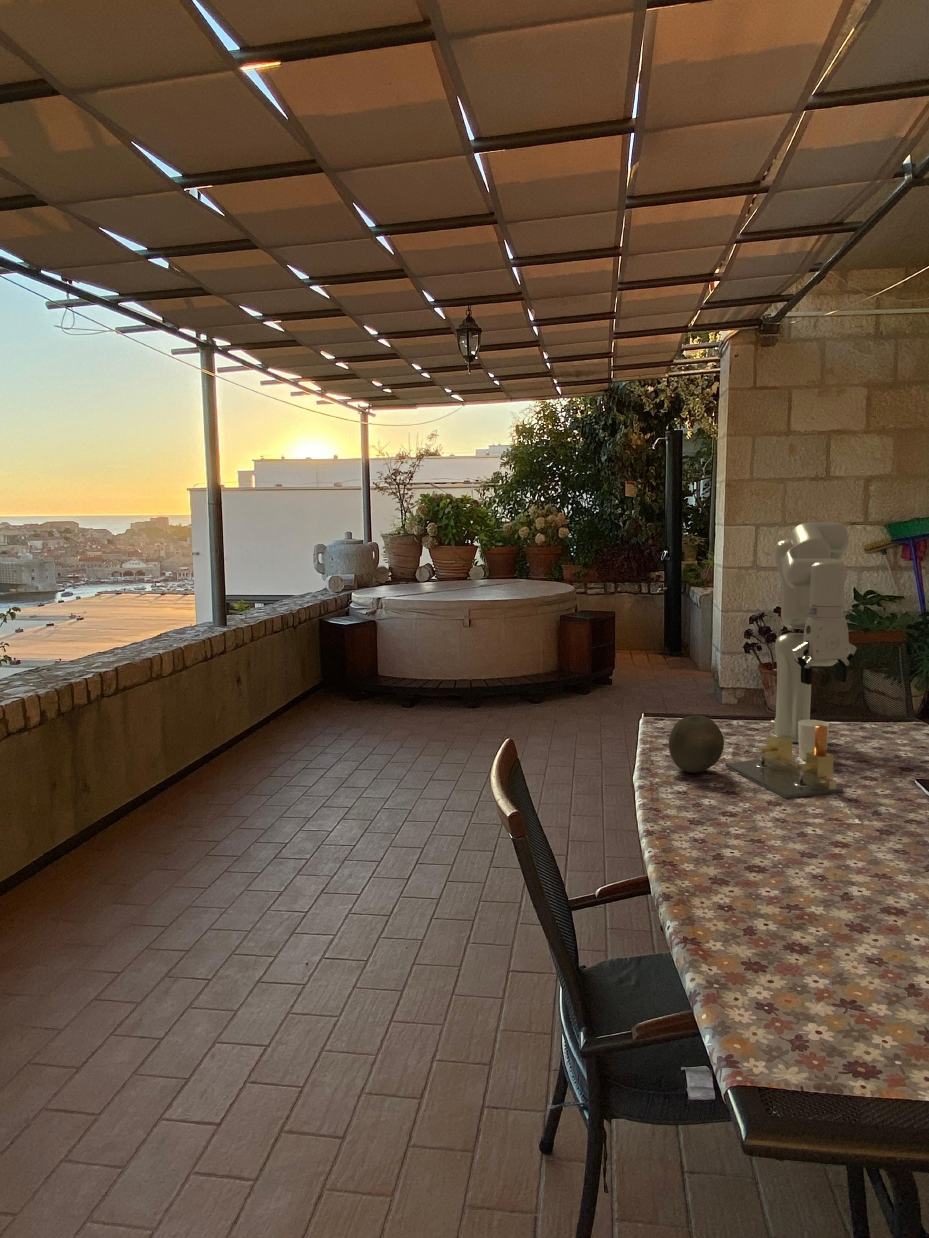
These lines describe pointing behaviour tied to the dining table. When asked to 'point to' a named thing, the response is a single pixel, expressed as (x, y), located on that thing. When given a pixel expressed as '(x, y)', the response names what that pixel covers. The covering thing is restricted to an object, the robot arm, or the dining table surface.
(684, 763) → the dimpled olive sphere
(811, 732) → the white cup
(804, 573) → the robot arm
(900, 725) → the dining table surface
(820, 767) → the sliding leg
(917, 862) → the dining table surface
